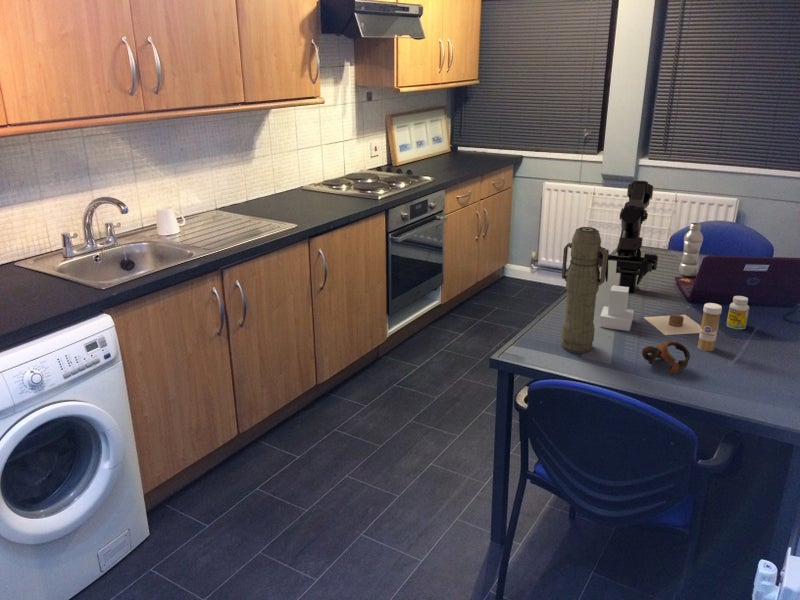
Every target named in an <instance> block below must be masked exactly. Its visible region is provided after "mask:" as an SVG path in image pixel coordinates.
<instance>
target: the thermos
mask: <svg viewBox="0 0 800 600" xmlns="http://www.w3.org/2000/svg"><path fill="white" fill-rule="evenodd" d="M601 244H602V239H601V235H600V231H599V229H596V228H595V227H591V226H581V227H578V228H577V229H575V231H574V233H573V235H572V238H571V242H568V243H567V244H566V245H565V246H564V247H563V255H562V268H561V269H562V270H561V279H562V280H564V281H565V289H566V302H565V303H566V304H565V313H564V314H565V315H564V323H563V326H562V327H561V347H562V348H563V349H564V350H565V351H567V352H571V353H576V354H577V353H579V354H586V353H588V352H591V351H592V349H593V343H594V340H595V330H596V329H595V323H594V319H595V309H596V300H597V293H598V292H599V287H600V286H602V284H604V283H605V282H606V279H605V272H606V265H607V258H608V252H607V251H606V250H607V249H606V248H605V247H602V246H601ZM568 249H570V257H571V258H570V260H569V266H568V268H567V260H568ZM600 251H601V252H602V254H603V259H602V267H600V266H599V262H598V259H599V256H600ZM600 268H601V269H600ZM600 270H601V271H600Z"/></svg>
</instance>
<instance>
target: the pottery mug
mask: <svg viewBox="0 0 800 600" xmlns="http://www.w3.org/2000/svg"><path fill="white" fill-rule="evenodd" d="M671 346H674V348H675V349H676V350H679V351H680V352H682V353H683V356H684V358H685V359H684V360H678V362H676V359H677V358H675V357H674V356H673V355H671V353H670V351H669V350H668V347H671ZM641 355H642V358H643V359H644V360H645V361H648V364H650V365H651V366H653V365H654V362H655V360H656V359H661V360H664V361H666V362H667V363H668V364H669V365H670V366H671V368H670V369H669V370H668V373H669V374H670V375H675V374H677V373H678V372H682V371H683V370H685V369H686V368H687V367H688V365H689V361H690V359H691V354H690V352H689V350H688V348H687V347H686V346H684V344H682V343H680V342H679V341H672V340H669V341H666V342H663V343H659V344H658V345H656V346H653V345H652V346H651V345H649V346H645V347H644V348H643V349H642V351H641Z"/></svg>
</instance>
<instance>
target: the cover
mask: <svg viewBox="0 0 800 600" xmlns="http://www.w3.org/2000/svg"><path fill="white" fill-rule="evenodd" d="M629 293H630V292H629V287H623V286H618V285H612V286H611V287H610V291H609V299H608V305H607V306H606V305H604V306H603V307H602V309H601V312H600V315H599V325H598V327H599V328H605V329H606V328H607V329H612V330H620V331H626V332H631V328H632V323H633V317H634V309H628V300H629Z"/></svg>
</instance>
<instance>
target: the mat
mask: <svg viewBox="0 0 800 600" xmlns="http://www.w3.org/2000/svg"><path fill="white" fill-rule="evenodd" d="M679 315H680V316H683V317H684V319H683V325H682V326H681V327H674V326H671V325H669V318H670V315H662V316H661V315H658V316H644V317H643V319H644V320H646V321H647V322H648V323H650V324H651V325H652V326H653V327H654V328H656V329H657V330H658V331H659V332H661V333H662V334H663V335H664V336H671V335H673V336H674V335H686V334H688V335H690V334H700V329H701V324H699V323H698V322H696V320H693V319H692V318H690V317H689V316H688V315H686V314H679Z"/></svg>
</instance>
